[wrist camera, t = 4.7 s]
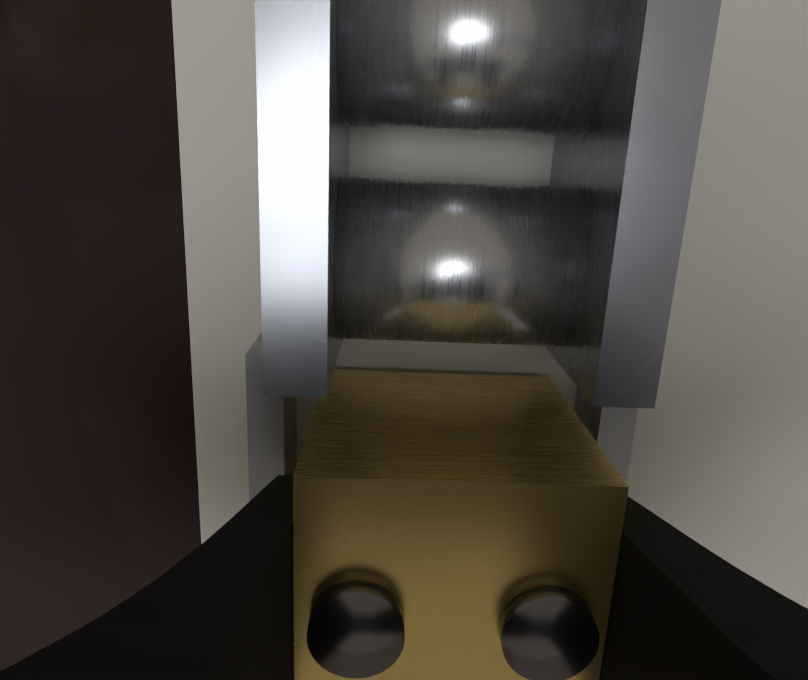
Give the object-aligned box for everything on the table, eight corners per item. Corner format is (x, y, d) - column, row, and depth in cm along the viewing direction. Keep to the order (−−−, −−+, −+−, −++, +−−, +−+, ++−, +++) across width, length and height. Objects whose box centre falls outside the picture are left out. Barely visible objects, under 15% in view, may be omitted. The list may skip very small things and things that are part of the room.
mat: (1047, -28, 10) (1067, -33, 10) (804, 810, 15) (812, 822, 15) (173, -74, 10) (167, -81, 10) (219, 801, 15) (215, 814, 15)
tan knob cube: (528, 567, 12) (594, 770, 8) (324, 562, 12) (291, 765, 8) (549, 376, 11) (638, 500, 7) (327, 369, 11) (288, 489, 7)
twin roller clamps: (668, -36, 10) (812, -135, 6) (549, 811, 15) (595, 1005, 11) (254, -58, 10) (180, -172, 6) (272, 806, 15) (236, 1002, 11)
